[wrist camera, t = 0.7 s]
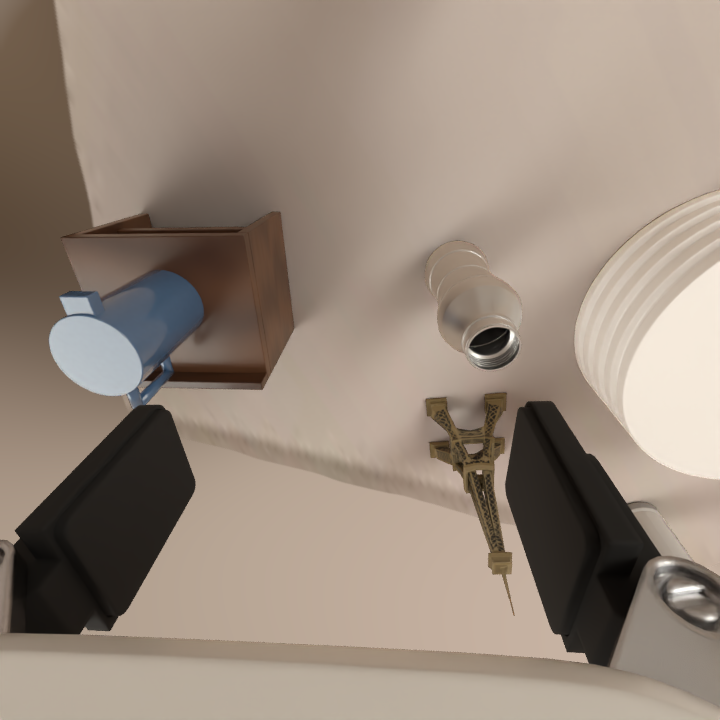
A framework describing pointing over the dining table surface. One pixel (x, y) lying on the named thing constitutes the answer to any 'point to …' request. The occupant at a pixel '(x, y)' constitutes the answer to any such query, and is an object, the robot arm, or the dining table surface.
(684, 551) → the travel mug
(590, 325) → the plate stack
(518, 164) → the dining table surface
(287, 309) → the shelf stand
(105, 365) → the jug
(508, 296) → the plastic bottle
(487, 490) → the eiffel tower
